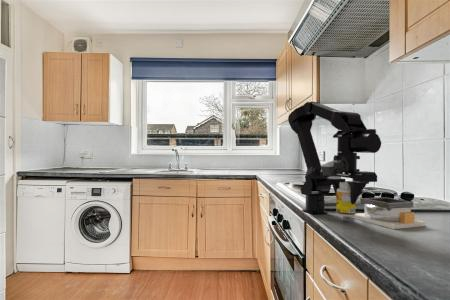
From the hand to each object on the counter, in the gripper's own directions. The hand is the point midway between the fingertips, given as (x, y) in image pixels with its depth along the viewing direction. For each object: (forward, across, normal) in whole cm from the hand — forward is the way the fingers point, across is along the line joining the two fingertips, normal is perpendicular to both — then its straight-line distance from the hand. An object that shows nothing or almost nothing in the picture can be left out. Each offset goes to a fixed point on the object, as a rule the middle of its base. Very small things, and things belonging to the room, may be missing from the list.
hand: (345, 202), depth 99 cm
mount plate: (+6, +4, +13) cm, 15 cm away
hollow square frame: (+5, +5, +13) cm, 15 cm away
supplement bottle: (+4, 0, 0) cm, 4 cm away
